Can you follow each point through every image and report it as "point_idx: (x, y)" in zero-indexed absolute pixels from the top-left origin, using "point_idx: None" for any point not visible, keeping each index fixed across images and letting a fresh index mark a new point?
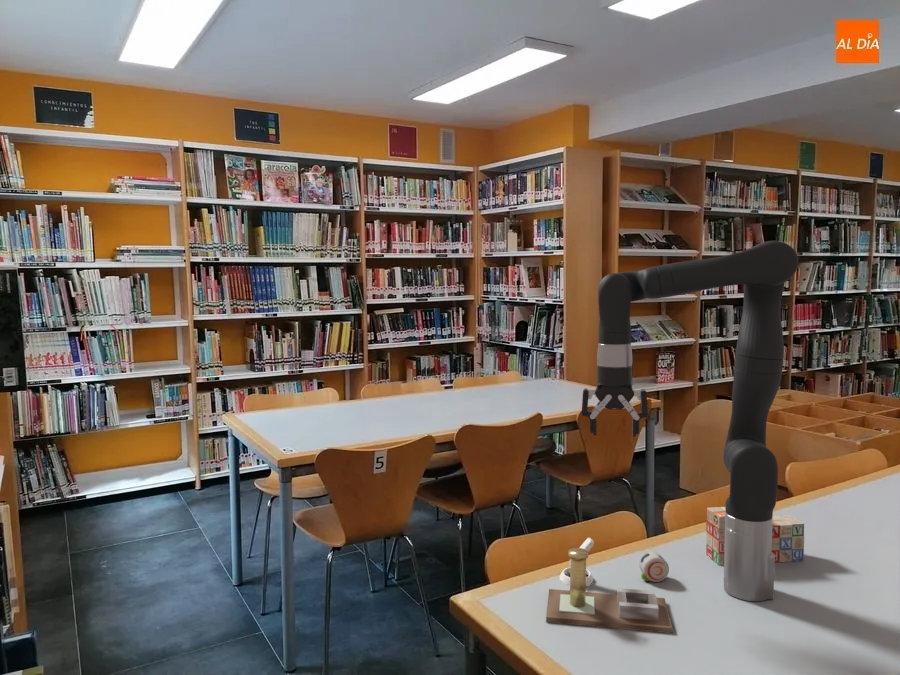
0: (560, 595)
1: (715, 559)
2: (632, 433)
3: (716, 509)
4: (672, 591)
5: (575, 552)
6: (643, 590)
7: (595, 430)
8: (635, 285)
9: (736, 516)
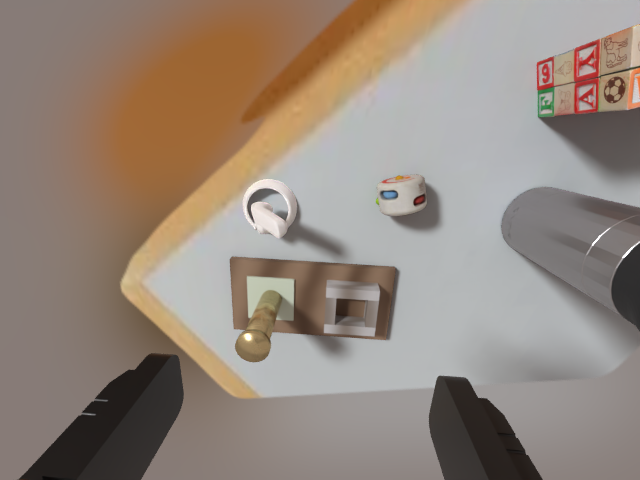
0: (247, 280)
1: (542, 102)
2: (437, 419)
3: None
4: (416, 231)
5: (247, 350)
6: (363, 291)
7: (156, 438)
8: None
9: (622, 314)
